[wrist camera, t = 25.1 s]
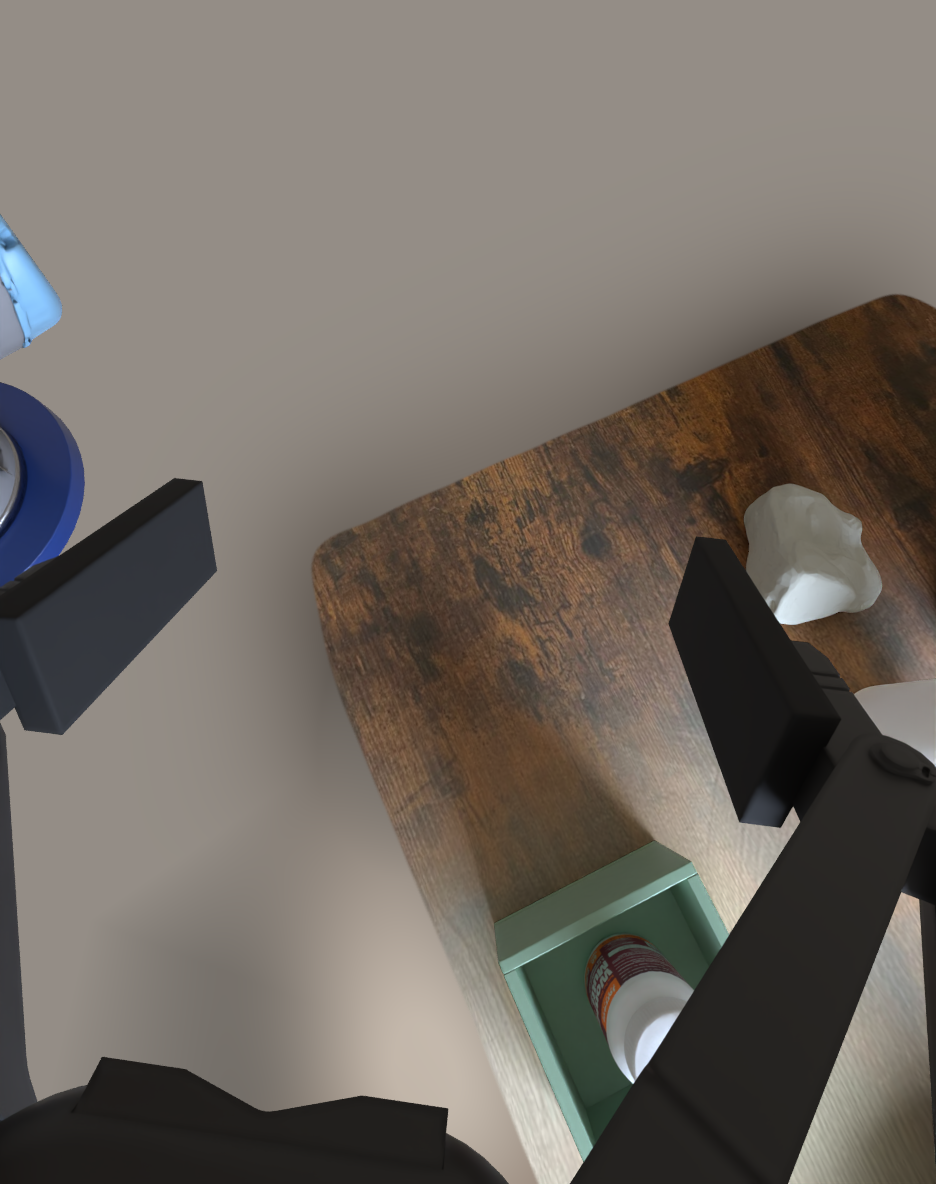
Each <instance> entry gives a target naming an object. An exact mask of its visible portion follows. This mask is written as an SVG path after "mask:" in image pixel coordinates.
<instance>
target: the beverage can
mask: <svg viewBox="0 0 936 1184" xmlns="http://www.w3.org/2000/svg"><path fill="white" fill-rule="evenodd" d="M854 695H855V697H856V698H857V700H858V701H859V703H860V704H861V705H862V707H863V708H864V710H865V711H866V712H867V714H868V715H869V717H870V718H871V719H872V721H873V722H874V724H875V725H876V727H877V728H878V729H879V731H880V732H881V734H882V735H885V736H889V737H891V738H894V739H896V740H899V741H901V742H904V743H906V744H908V745H909V746H911V747H912V748H914V749H916V750H917V751H919V752H921V753H922V754H923V755H924V756H925V757H926V758H927V759H929V760H930V761H931V762H932V763H933V764H934V765H935V767H936V678H935V679H927V680H918V681H910V682H902V683H893V684H885V685H877V686H871V687H867V688H864V689H862V690H860V691H858V692H856V693H855V694H854Z"/></svg>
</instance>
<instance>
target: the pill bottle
mask: <svg viewBox="0 0 936 1184" xmlns="http://www.w3.org/2000/svg"><path fill="white" fill-rule="evenodd" d="M584 982H585V990H586V994H587V997H588V1000H589V1002H590V1005H591V1007H592V1009H593V1011H594V1014H595V1016H596V1018H597V1021H598V1023H599V1025H600V1027H601V1030H602V1032H603V1034H604V1036H605V1039H606V1041H607V1043H608V1046H609V1048H610V1051H611V1053H612V1056H613V1058H614V1060H615V1062H616V1063H617V1065H618V1067H619V1068H620V1070H621V1071H622V1072H623V1074H624V1075H625V1076H626V1077H627V1078H628V1079H629V1080H630V1081H631V1082H632V1083H633V1084H634V1082H635V1081H636V1079H637V1077H638V1076H639V1075H640V1073H641V1072H642V1070H643V1069H644V1067H645V1066H646V1065H647V1064H648V1062H649V1061H650V1059H651V1058H652V1056H653V1055H654V1053H655V1052H656V1050H657V1049H658V1047H659V1045H660V1044H661V1042H662V1041H663V1039H664V1037H665V1036H666V1034H667V1033H668V1031H669V1030H670V1028H671V1026H672V1025H673V1023H674V1022H675V1020H676V1018H677V1017H678V1015H679V1014H680V1012H681V1011H682V1009H683V1007H684V1006H685V1004H686V1003H687V1001H688V999H689V998H690V996H691V995H692V993H693V991H694V990H693V989H692V988H691V987H690V985H689V984H688V983H687V982H686V981H685V980H684V978H683V977H682V976H681V975H680V974H679V973H678V972H677V970H676V969H675V968H674V967H673V966H672V965H671V963H670V962H669V961H668V960H667V959H666V958H665V956H664V955H663V954H662V953H661V952H660V951H659V950H658V949H657V948H656V947H655V946H654V945H653V944H652V943H651V942H649V941H648V940H646V939H644V938H642V937H640V936H637V935H634V934H629V933H619V934H614V935H611V936H609V937H607V938H605V939H603V940H602V941H601V942H599V943H598V944H597V945H596V946H595V948H594V949H593V951H592V952H591V954H590V956H589V958H588V960H587V963H586V967H585V974H584Z"/></svg>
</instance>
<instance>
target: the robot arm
mask: <svg viewBox="0 0 936 1184" xmlns="http://www.w3.org/2000/svg"><path fill="white" fill-rule="evenodd" d="M61 314H62V305H61V302H60V299H59V297H58V295H57V293H56V292H55V290H54V289H53V288H52V286H51V285H50V283H49V282H48V280H47V279H46V278H45V276H44V275H43V273H42V272H41V271H40V269H39V268H38V266H37V265H36V264H35V262H34V261H33V259H32V258H31V256H30V255H29V254H28V252H27V251H26V249H25V248H24V247H23V245H22V244H21V242H20V241H19V240H18V238H17V237H16V235H15V234H14V233H13V231H12V230H11V229H10V227H9V226H8V224H7V223H6V221H5V220H4V219H3V217H2V216H1V215H0V359H2V358H4V357H6V356H7V355H9V354H11V353H13V352H15V351H17V350H19V349H20V348H25V347H27V346H29V345H30V344H31V342H32V339H34V338H35V337H37V336H38V335H40V334H41V333H43V332H44V331H46V330H47V329H49V328H51V327H52V326H53V325H55V324H56V323H57V322H58V321H59V319H60V318H61ZM26 489H27V466H26V461H25V458H24V455H23V452H22V450H21V448H20V446H19V445H18V443H17V441H16V440H15V439H14V438H13V436H12V435H11V434H10V433H9V432H8V431H7V430H5V429H4V428H3V427H1V426H0V539H1V537H2V536H3V535H4V534H5V533H6V532H7V530H8V529H9V528H10V526H11V525H12V524H13V522H14V520H15V519H16V517H17V515H18V513H19V511H20V509H21V507H22V504H23V501H24V498H25V494H26ZM216 571H217V568H216V562H215V556H214V549H213V544H212V537H211V531H210V526H209V519H208V513H207V507H206V501H205V495H204V489H203V483H202V481H195V480H186V479H176V478H174V479H172V480H171V481H169V482H168V483H166V484H165V485H163V486H162V487H161V488H159V489H158V490H156V491H155V492H153V493H152V494H150V495H149V496H147V497H146V498H144V499H143V500H141V501H140V502H138V503H137V504H135V505H134V506H132V507H131V508H129V509H128V510H126V511H125V512H123V513H122V514H121V515H119V516H118V517H116V518H115V519H113V520H112V521H110V522H109V523H107V524H106V525H104V526H103V527H101V528H100V529H98V530H97V531H95V532H94V533H92V534H91V535H90V536H88V537H86V538H85V539H84V540H82V541H80V542H79V543H78V544H76V545H75V546H73V547H72V548H70V549H69V550H67V551H66V552H64V553H63V554H61V555H60V556H57V557H54V558H52V559H49V560H46V561H44V562H41V563H39V564H36V565H33V566H32V567H30V568H29V569H27V570H26V571H24V572H23V573H21V574H20V575H18V576H17V577H15V578H14V581H9V582H7V583H6V584H4V585H3V586H1V587H0V720H1V719H2V718H3V717H4V716H5V715H6V714H8V713H9V712H10V711H11V710H12V709H13V708H14V707H15V709H16V712H17V714H18V716H19V719H20V720H21V723H22V725H23V728H24V730H28V731H35V732H43V733H52V734H59V735H63V734H64V732H65V731H66V730H67V729H68V728H69V727H70V726H71V725H72V724H73V723H74V722H75V721H76V720H77V719H78V718H79V717H80V716H81V714H82V713H83V712H84V711H85V710H86V709H87V708H88V707H89V706H90V705H91V704H92V703H93V702H94V701H95V700H96V698H98V696H99V695H100V694H101V693H102V692H103V691H104V690H105V689H106V688H107V687H108V686H109V685H110V684H111V683H112V682H113V680H115V678H116V677H117V676H118V675H119V674H120V673H121V672H122V671H123V670H124V669H125V668H126V667H127V666H128V665H129V664H130V662H131V661H132V660H133V659H134V658H135V657H136V656H137V655H138V654H139V653H140V652H141V651H142V650H143V649H144V648H145V647H146V646H147V644H148V643H149V642H150V641H151V640H152V639H153V638H154V637H155V636H156V635H157V634H158V633H159V632H160V631H161V630H162V628H163V627H164V626H165V625H166V624H167V623H168V622H169V621H170V620H171V619H172V618H173V617H174V616H175V615H176V614H177V613H178V612H179V610H180V609H181V608H182V607H183V606H184V605H185V604H186V603H187V602H188V601H189V600H190V599H191V598H192V596H194V594H196V593H197V591H198V590H199V589H200V588H201V587H202V586H203V585H204V584H205V583H206V582H207V580H209V579H210V578H211V577H212V576H213V574H214V573H215V572H216ZM669 626H670V629H671V632H672V635H673V637H674V640H675V643H676V646H677V649H678V651H679V654H680V657H681V660H682V663H683V665H684V668H685V671H686V674H687V677H688V679H689V682H690V685H691V688H692V691H693V693H694V696H695V699H696V702H697V705H698V708H699V710H700V713H701V716H702V719H703V722H704V724H705V727H706V730H707V733H708V736H709V738H710V741H711V744H712V747H713V750H714V752H715V755H716V758H717V761H718V764H719V766H720V769H721V772H722V775H723V778H724V780H725V783H726V786H727V789H728V792H729V794H730V797H731V800H732V803H733V806H734V808H735V811H736V814H737V817H738V820H739V822H741V823H748V824H756V825H764V826H772V827H779V828H781V826H782V825H783V823H784V821H785V819H786V818H787V816H788V814H789V812H790V810H791V809H792V807H794V809H795V811H796V813H797V815H798V817H799V820H800V824H799V825H798V827H797V828H796V830H795V832H794V833H793V835H792V836H791V838H790V839H789V841H788V843H787V844H786V846H785V847H784V849H783V851H782V852H781V854H780V855H779V857H778V858H777V860H776V862H775V863H774V865H773V866H772V868H771V870H770V871H769V873H768V874H767V876H766V877H765V879H764V881H763V882H762V884H761V885H760V887H759V889H758V890H757V892H756V893H755V895H754V896H753V898H752V900H751V901H750V903H749V904H748V906H747V908H746V909H745V911H744V912H743V914H742V915H741V917H740V919H739V920H738V922H737V923H736V925H735V927H734V928H733V930H732V931H731V933H730V934H729V936H728V938H727V939H726V941H725V942H724V944H723V946H722V947H721V949H720V950H719V952H718V953H717V955H716V957H715V958H714V960H713V961H712V963H711V965H710V966H709V968H708V969H707V971H706V972H705V974H704V976H703V977H702V979H701V980H700V982H699V984H698V985H697V987H696V988H695V990H694V991H693V993H692V995H691V996H690V998H689V999H688V1001H687V1003H686V1004H685V1006H684V1007H683V1009H682V1011H681V1012H680V1014H679V1015H678V1017H677V1018H676V1020H675V1022H674V1023H673V1025H672V1026H671V1028H670V1030H669V1031H668V1033H667V1034H666V1036H665V1037H664V1039H663V1041H662V1042H661V1044H660V1045H659V1047H658V1049H657V1050H656V1052H655V1053H654V1055H653V1056H652V1058H651V1059H650V1061H649V1062H648V1064H647V1065H646V1066H645V1067H644V1069H643V1070H642V1072H641V1073H640V1075H639V1076H638V1077H637V1079H636V1081H635V1082H634V1084H633V1085H632V1087H631V1088H630V1090H629V1091H628V1093H627V1095H626V1096H625V1098H624V1099H623V1101H622V1102H621V1104H620V1106H619V1107H618V1109H617V1110H616V1112H615V1113H614V1115H613V1117H612V1118H611V1120H610V1121H609V1123H608V1125H607V1126H606V1128H605V1129H604V1131H603V1132H602V1134H601V1136H600V1137H599V1139H598V1140H597V1142H596V1143H595V1145H594V1147H593V1148H592V1150H591V1151H590V1153H589V1155H588V1156H587V1158H586V1159H585V1161H584V1162H583V1164H582V1166H581V1167H580V1169H579V1170H578V1172H577V1173H576V1175H575V1177H574V1178H573V1180H572V1181H571V1183H570V1184H788V1183H789V1180H790V1177H791V1174H792V1172H793V1169H794V1166H795V1164H796V1161H797V1159H798V1156H799V1154H800V1151H801V1148H802V1146H803V1143H804V1141H805V1138H806V1136H807V1133H808V1130H809V1128H810V1125H811V1123H812V1120H813V1118H814V1115H815V1112H816V1110H817V1107H818V1105H819V1102H820V1100H821V1097H822V1094H823V1092H824V1089H825V1087H826V1084H827V1082H828V1079H829V1076H830V1074H831V1071H832V1069H833V1066H834V1064H835V1061H836V1058H837V1056H838V1053H839V1051H840V1048H841V1046H842V1043H843V1040H844V1038H845V1035H846V1033H847V1030H848V1028H849V1025H850V1022H851V1020H852V1017H853V1015H854V1012H855V1010H856V1007H857V1004H858V1002H859V999H860V997H861V994H862V992H863V989H864V986H865V984H866V981H867V979H868V976H869V974H870V971H871V968H872V966H873V963H874V961H875V958H876V956H877V953H878V950H879V948H880V945H881V943H882V940H883V937H884V935H885V932H886V930H887V927H888V925H889V922H890V919H891V917H892V914H893V912H894V909H895V907H896V904H897V901H898V899H899V896H900V894H901V892H903V893H905V894H908V895H910V896H913V897H915V898H918V899H919V903H920V919H921V935H922V952H923V968H924V984H925V1000H926V1016H927V1033H928V1049H929V1065H930V1081H931V1097H932V1114H933V1130H934V1146H935V1162H936V767H935V765H934V764H933V763H932V762H931V761H930V760H929V759H927V758H926V757H925V756H924V755H923V754H922V753H921V752H919V751H917V750H916V749H914V748H912V747H911V746H909V745H908V744H906V743H904V742H901V741H899V740H896V739H894V738H891V737H889V736H885V735H882V734H881V732H880V731H879V729H878V728H877V727H876V725H875V724H874V722H873V721H872V719H871V718H870V717H869V715H868V714H867V712H866V711H865V710H864V708H863V707H862V705H861V704H860V703H859V701H858V700H857V698H856V697H855V695H854V694H853V693H852V692H849V690H850V688H849V687H848V686H847V684H846V683H845V681H844V680H843V678H840V674H839V673H838V671H837V670H836V669H835V667H834V666H833V664H832V663H831V661H830V660H829V659H828V658H827V657H826V656H825V655H823V654H822V653H821V652H820V651H818V650H817V649H816V648H815V647H813V646H812V645H811V644H809V643H808V642H799V641H791V640H790V638H789V637H788V635H787V634H786V632H785V631H784V629H783V628H782V626H781V624H780V623H779V621H778V620H777V618H776V617H775V615H774V614H773V612H772V611H771V609H770V607H769V606H768V604H767V603H766V601H765V600H764V598H763V597H762V595H761V593H760V592H759V590H758V589H757V587H756V586H755V584H754V583H753V581H752V580H751V578H750V576H749V575H748V573H747V572H746V570H745V569H744V567H743V566H742V564H741V562H740V561H739V559H738V558H737V556H736V555H735V553H734V552H733V550H732V549H731V547H730V545H729V544H728V542H727V541H726V540H723V539H714V538H705V537H696V538H695V542H694V545H693V548H692V551H691V554H690V557H689V561H688V564H687V567H686V570H685V573H684V576H683V580H682V583H681V586H680V589H679V592H678V596H677V599H676V602H675V605H674V608H673V611H672V615H671V618H670V621H669ZM13 859H14V858H13V842H12V827H11V811H10V796H9V780H8V764H7V749H6V735H5V732H4V730H3V728H2V726H1V724H0V1184H508V1182H507V1181H506V1180H505V1178H504V1177H503V1176H502V1175H501V1174H500V1173H499V1172H498V1171H497V1170H496V1169H495V1168H494V1167H493V1166H492V1165H491V1164H490V1163H489V1162H488V1161H487V1160H486V1159H485V1158H484V1157H482V1156H481V1155H480V1154H478V1153H477V1152H476V1151H474V1150H473V1149H472V1148H471V1147H469V1146H468V1145H467V1144H465V1143H463V1142H462V1141H460V1140H458V1139H456V1138H454V1137H452V1136H451V1135H449V1134H447V1133H446V1127H447V1117H448V1108H442V1107H435V1106H428V1105H421V1104H414V1103H408V1102H401V1101H395V1100H388V1099H381V1098H375V1097H368V1096H357V1097H352V1098H346V1099H340V1100H335V1101H329V1102H323V1103H318V1104H312V1105H307V1106H301V1107H295V1108H290V1109H284V1110H279V1111H272V1112H265V1111H261V1110H258V1109H256V1108H254V1107H252V1106H250V1105H248V1104H247V1103H245V1102H243V1101H241V1100H240V1099H238V1098H236V1097H234V1096H232V1095H231V1094H229V1093H227V1092H225V1091H224V1090H222V1089H220V1088H218V1087H216V1086H215V1085H213V1084H211V1083H209V1082H207V1081H206V1080H204V1079H202V1078H200V1077H198V1076H197V1075H195V1074H193V1073H191V1072H189V1071H188V1070H186V1069H180V1068H174V1067H167V1066H160V1065H153V1064H147V1063H140V1062H133V1061H127V1060H120V1059H112V1058H107V1057H102V1058H101V1060H100V1062H99V1064H98V1066H97V1068H96V1070H95V1071H94V1073H93V1075H92V1077H91V1079H90V1081H89V1083H88V1085H85V1086H80V1087H77V1088H73V1089H70V1090H67V1091H64V1092H60V1093H57V1094H54V1095H52V1096H50V1097H47V1098H45V1099H43V1100H41V1101H38V1102H37V1099H36V1096H35V1093H34V1090H33V1086H32V1083H31V1080H30V1076H29V1072H28V1067H27V1058H26V1045H25V1030H24V1014H23V998H22V983H21V967H20V952H19V936H18V921H17V906H16V890H15V874H14V860H13Z"/></svg>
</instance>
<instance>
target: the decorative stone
mask: <svg viewBox="0 0 936 1184" xmlns="http://www.w3.org/2000/svg"><path fill="white" fill-rule="evenodd" d="M744 524H745V528H746V534H747V538H748V541H749V553H748V558H747V564H746V572H747V573H748V575H749V576H750V578H751V580H752V581H753V583H754V584H755V586H756V587H757V589H758V590H759V592H760V593H761V595H762V597H763V598H764V600H765V601H766V603H767V604H768V606H769V607H770V609H771V611H772V612H773V614H774V615H775V617H776V618H777V620H778V621H779V623H781V624H789V625H797V624H800V623H803V622H808V621H811V620H815V619H819V618H824V617H828V616H830V615H833V614H835V613H837V612H848V613H854V612H859V611H862V610H864V609H867V608H869V607H870V606H872V605H873V604H874V602H875V600H876V598H877V597H878V595H879V594H880V592H881V589H882V582H881V577H880V574H879V572H878V570H877V568H876V567H875V565H874V564H873V563H872V561H871V559H870V558H869V556H868V554H867V552H866V551H865V549H864V548H863V546H862V543H861V539H860V537H861V532H862V523H861V521H860V520H859V519H858V518H856V517H854V516H853V515H851V514H849V513H845V512H843V511H841V510H839V509H838V508H836V507H835V506H834V505H833V504H831V502H830V501H829V500H828V499H827V498H826V497H825V496H824V495H823V494H821V493H818V492H815V491H812V490H810V489H807V488H804V487H802V486H799V485H795V484H785V485H782V486H777V487H773V488H771V489H770V490H769V491H768V492H767V493H765V494H763V495H762V496H760V497H759V498H758V499H757V500H755V501H754V502H753V503H752V504H751V505H750V506H749V507H748V508H747V509H746V512H745V515H744Z"/></svg>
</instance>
